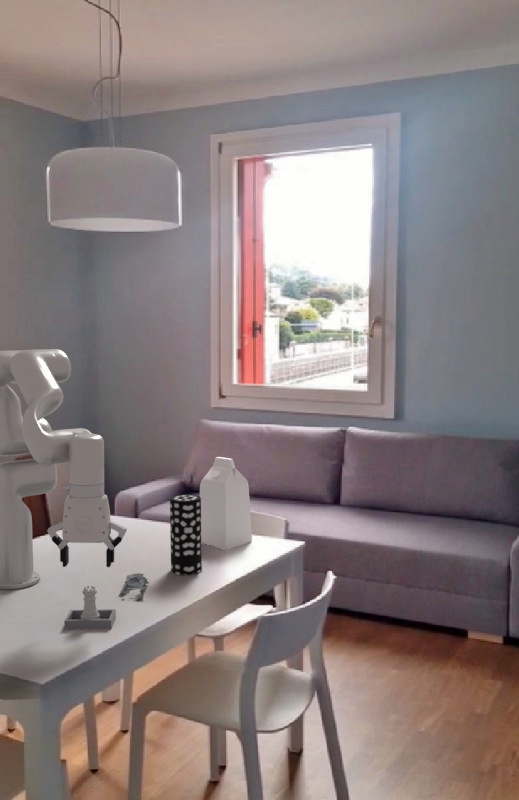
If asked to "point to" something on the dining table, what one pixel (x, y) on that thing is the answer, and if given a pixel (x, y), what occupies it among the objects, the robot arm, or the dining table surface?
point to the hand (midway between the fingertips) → (87, 565)
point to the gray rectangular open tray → (90, 620)
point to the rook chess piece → (89, 604)
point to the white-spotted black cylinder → (185, 534)
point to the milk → (225, 506)
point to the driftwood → (134, 586)
